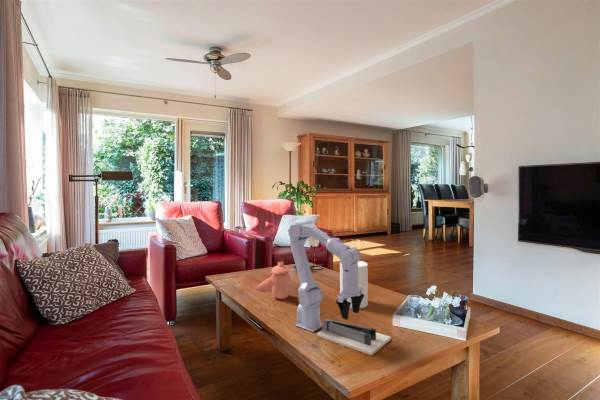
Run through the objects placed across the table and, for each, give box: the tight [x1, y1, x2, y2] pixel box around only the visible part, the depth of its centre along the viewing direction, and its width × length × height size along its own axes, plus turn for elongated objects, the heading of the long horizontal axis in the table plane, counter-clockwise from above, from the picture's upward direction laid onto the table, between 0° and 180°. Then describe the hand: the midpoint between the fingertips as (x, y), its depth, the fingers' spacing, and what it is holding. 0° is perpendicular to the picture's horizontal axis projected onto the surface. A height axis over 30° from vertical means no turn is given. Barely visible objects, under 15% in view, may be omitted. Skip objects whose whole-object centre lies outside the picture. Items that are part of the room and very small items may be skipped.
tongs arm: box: [331, 319, 377, 340], centre depth 129 cm, size 18×1×4 cm, turn 59°
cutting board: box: [316, 329, 392, 356], centre depth 128 cm, size 24×15×1 cm, turn 50°
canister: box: [339, 260, 369, 309], centre depth 165 cm, size 14×14×20 cm
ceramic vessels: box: [254, 261, 292, 300], centre depth 187 cm, size 35×21×19 cm, turn 18°
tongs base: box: [322, 318, 371, 346], centre depth 128 cm, size 21×3×4 cm, turn 50°
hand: (350, 315), depth 126 cm, fingers open, 7 cm apart
